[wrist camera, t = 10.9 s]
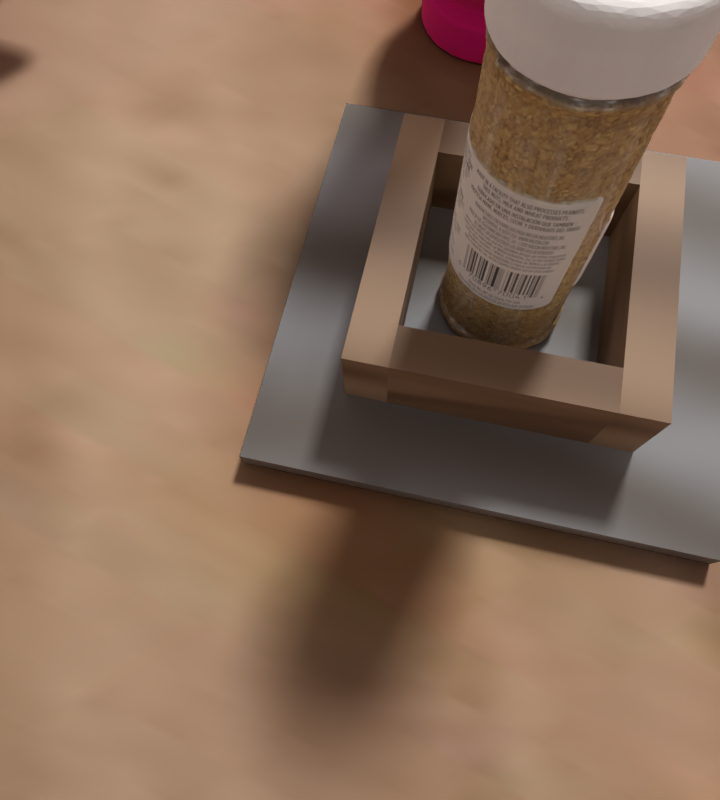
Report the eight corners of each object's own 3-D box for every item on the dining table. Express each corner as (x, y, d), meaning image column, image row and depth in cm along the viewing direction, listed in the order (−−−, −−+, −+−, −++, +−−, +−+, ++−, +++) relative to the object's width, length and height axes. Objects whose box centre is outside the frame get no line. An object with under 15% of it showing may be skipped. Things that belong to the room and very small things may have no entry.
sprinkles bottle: (584, 299, 24) (815, -88, 11) (505, 381, 23) (664, 55, 10) (489, 228, 25) (602, -192, 12) (409, 303, 24) (445, -75, 11)
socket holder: (710, 563, 21) (777, 547, 18) (244, 462, 23) (220, 428, 19) (723, 177, 27) (776, 105, 23) (347, 117, 28) (343, 41, 25)
